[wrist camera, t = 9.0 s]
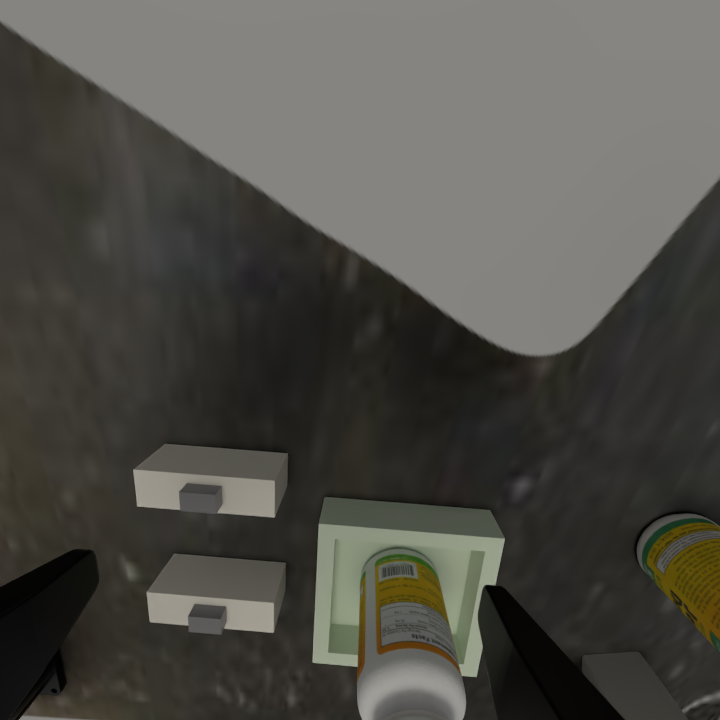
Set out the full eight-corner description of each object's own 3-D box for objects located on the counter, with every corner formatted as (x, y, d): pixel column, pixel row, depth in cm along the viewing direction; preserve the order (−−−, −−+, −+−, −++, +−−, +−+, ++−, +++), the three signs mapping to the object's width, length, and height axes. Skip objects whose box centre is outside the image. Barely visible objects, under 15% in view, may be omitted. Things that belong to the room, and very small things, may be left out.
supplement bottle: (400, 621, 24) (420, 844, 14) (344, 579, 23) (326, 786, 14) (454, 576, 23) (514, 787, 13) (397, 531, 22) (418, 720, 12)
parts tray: (466, 637, 25) (476, 677, 22) (318, 624, 25) (312, 662, 22) (489, 509, 22) (504, 538, 19) (324, 496, 22) (318, 523, 20)
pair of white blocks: (285, 589, 24) (270, 646, 20) (176, 580, 24) (141, 635, 20) (288, 453, 21) (270, 489, 18) (165, 443, 22) (122, 477, 18)
